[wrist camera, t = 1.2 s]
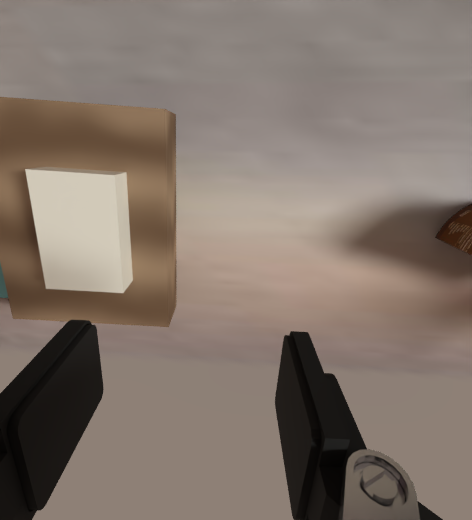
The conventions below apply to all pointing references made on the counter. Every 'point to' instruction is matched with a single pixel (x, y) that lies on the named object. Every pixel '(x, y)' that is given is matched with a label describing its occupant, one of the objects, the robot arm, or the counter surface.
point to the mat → (2, 285)
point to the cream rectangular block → (82, 228)
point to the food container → (458, 230)
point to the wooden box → (90, 158)
